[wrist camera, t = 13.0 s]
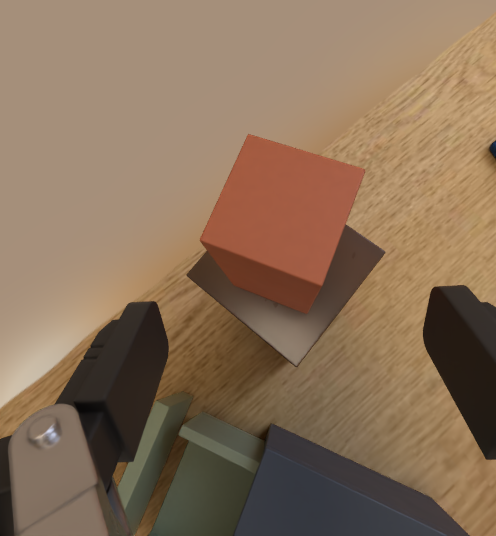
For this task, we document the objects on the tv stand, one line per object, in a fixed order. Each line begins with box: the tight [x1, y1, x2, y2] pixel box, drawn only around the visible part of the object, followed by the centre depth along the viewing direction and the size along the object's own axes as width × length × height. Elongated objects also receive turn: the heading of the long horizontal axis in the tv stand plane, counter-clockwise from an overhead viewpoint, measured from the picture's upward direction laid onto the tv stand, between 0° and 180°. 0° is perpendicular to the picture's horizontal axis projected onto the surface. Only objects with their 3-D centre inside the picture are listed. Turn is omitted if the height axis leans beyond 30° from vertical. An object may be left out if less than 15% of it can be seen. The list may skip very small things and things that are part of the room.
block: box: [200, 134, 365, 314], centre depth 16 cm, size 4×4×8 cm
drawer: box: [117, 391, 266, 536], centre depth 28 cm, size 19×12×7 cm, turn 67°
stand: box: [187, 224, 385, 367], centre depth 27 cm, size 8×8×16 cm
